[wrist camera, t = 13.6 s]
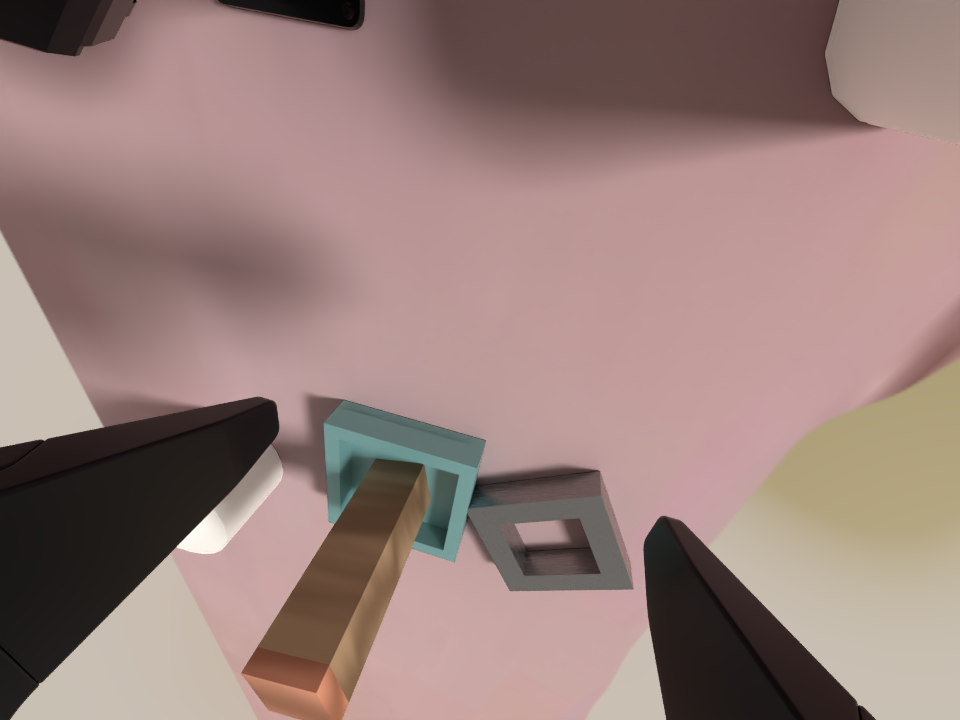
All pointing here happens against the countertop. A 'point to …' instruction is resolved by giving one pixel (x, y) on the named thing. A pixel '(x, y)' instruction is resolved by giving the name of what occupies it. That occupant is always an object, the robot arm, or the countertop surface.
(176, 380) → the countertop surface
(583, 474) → the grey square flat frame
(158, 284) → the countertop surface
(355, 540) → the pin
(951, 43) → the foam cup
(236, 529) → the cylinder with rectangular tab
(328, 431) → the tray
